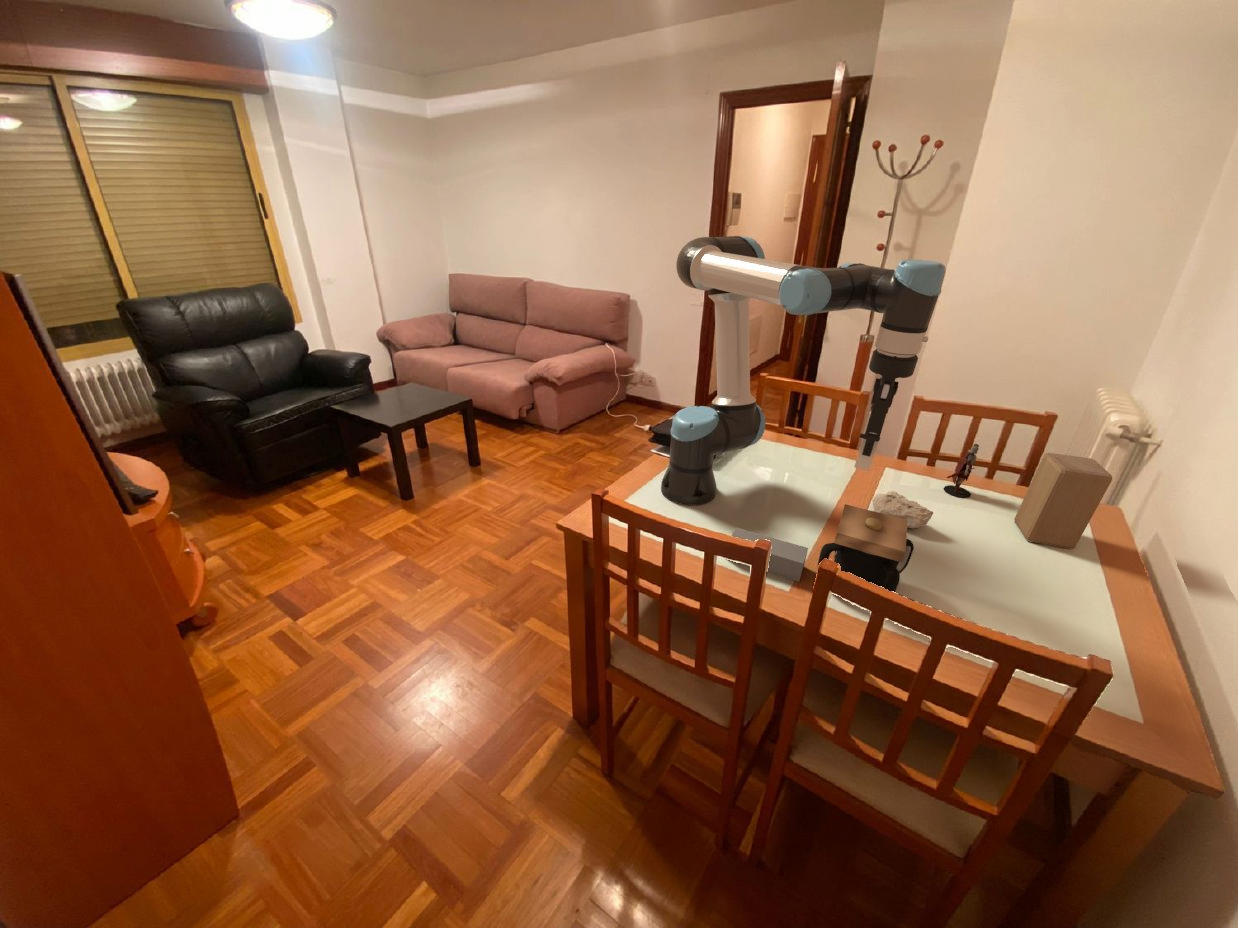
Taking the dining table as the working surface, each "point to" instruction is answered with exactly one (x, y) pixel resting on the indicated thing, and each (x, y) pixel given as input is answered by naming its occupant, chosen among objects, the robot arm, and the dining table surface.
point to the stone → (902, 509)
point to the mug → (868, 564)
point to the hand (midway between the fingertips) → (865, 454)
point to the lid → (872, 532)
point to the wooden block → (1062, 499)
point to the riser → (780, 555)
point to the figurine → (962, 474)
